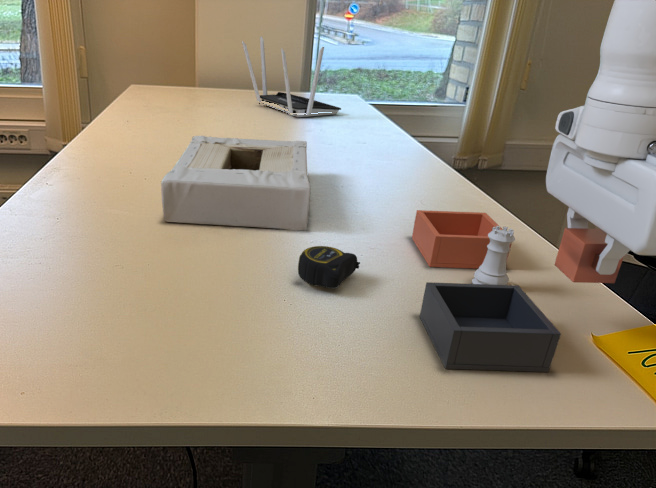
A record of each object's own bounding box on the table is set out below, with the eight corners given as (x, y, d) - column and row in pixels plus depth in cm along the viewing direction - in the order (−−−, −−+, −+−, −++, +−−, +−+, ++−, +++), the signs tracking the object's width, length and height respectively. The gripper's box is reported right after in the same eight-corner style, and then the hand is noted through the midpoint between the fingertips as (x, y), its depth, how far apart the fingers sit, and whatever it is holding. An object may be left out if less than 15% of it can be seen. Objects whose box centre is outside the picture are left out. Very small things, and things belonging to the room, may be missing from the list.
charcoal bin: (508, 320, 69) (518, 285, 66) (548, 372, 59) (561, 333, 57) (419, 317, 68) (426, 282, 66) (445, 369, 59) (454, 330, 57)
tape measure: (335, 298, 72) (338, 270, 70) (287, 282, 75) (289, 256, 73) (358, 278, 77) (361, 252, 75) (312, 265, 80) (314, 240, 78)
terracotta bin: (479, 240, 91) (485, 212, 89) (504, 269, 81) (513, 239, 79) (411, 238, 91) (416, 210, 88) (429, 266, 81) (435, 236, 79)
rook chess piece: (512, 295, 74) (528, 237, 71) (477, 294, 74) (491, 235, 71) (499, 280, 78) (514, 224, 75) (466, 278, 78) (479, 222, 75)
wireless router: (352, 118, 174) (361, 46, 165) (288, 124, 164) (293, 47, 154) (291, 100, 200) (295, 36, 190) (231, 104, 189) (233, 36, 180)
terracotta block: (593, 265, 66) (605, 228, 64) (614, 283, 62) (628, 244, 60) (554, 265, 66) (564, 227, 64) (572, 282, 62) (585, 243, 60)
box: (191, 169, 120) (161, 223, 92) (191, 131, 117) (160, 175, 88) (303, 177, 120) (308, 233, 91) (307, 139, 116) (313, 185, 88)
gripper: (737, 159, 48) (677, 306, 54) (606, 112, 66) (572, 227, 73) (661, 157, 48) (610, 305, 54) (550, 111, 66) (522, 226, 72)
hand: (587, 260), depth 64 cm, fingers closed on terracotta block, 4 cm apart
